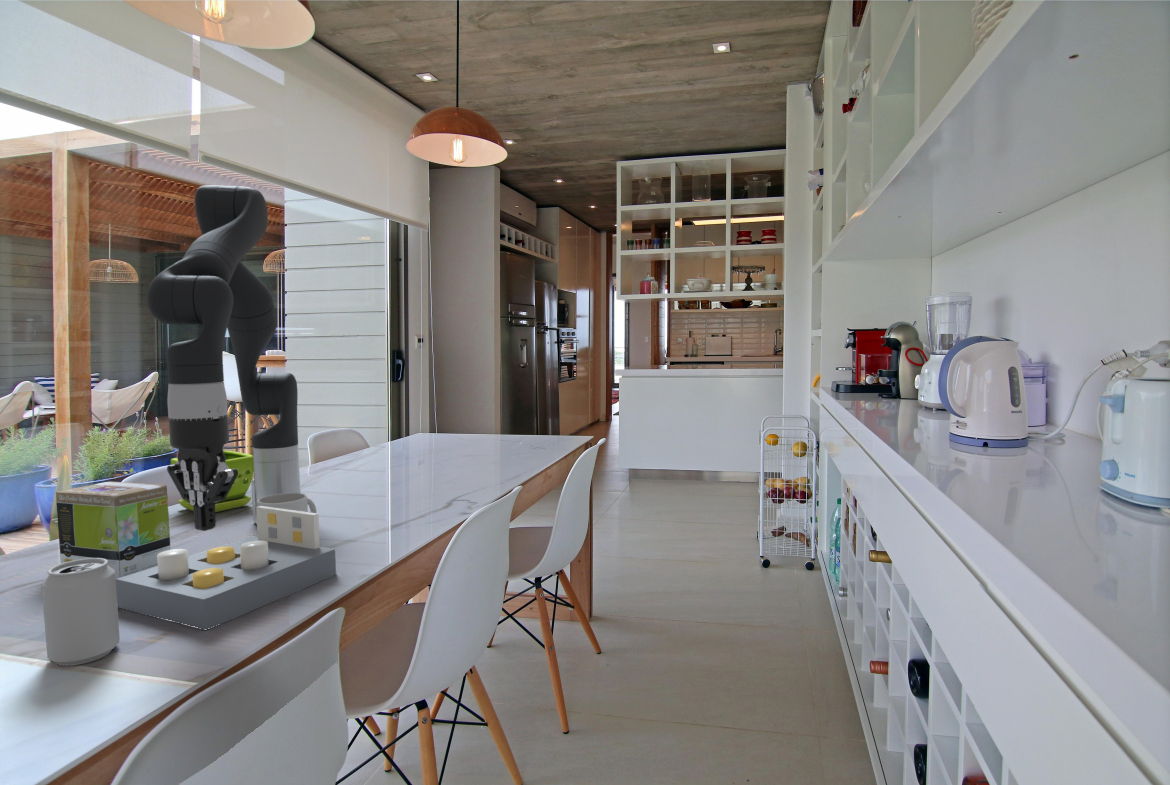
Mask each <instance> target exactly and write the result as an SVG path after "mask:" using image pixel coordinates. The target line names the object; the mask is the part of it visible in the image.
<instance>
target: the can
mask: <svg viewBox="0 0 1170 785" xmlns="http://www.w3.org/2000/svg"><path fill="white" fill-rule="evenodd" d="M107 564H108V560H106V559H103V558H87V559H79V560H74V561H69V562H65V563H62V564H61V563H58V564H56V565H53V566H52V567H51V568H49V569H48V570H47V571H46V574H48V575H47V577H46V578H45V579H44V580H43V581H42V583H41V595H42V607H43V608H42V609H43V620H44V634H45V644H46V657H47V659H48V660H49V661H51V662H53V663H56V664H57V665H60V666H64V665H65V667H66V666H68V667H69V666H78V665H83V664H87V663H90V662H94V661H97V660H99V659H102V658H104V657H106V656H107V655H109V654H110V653H111V652H112V651H113V650H114V648H115V647H116V646H117V645H119V643H120V624H119V612H118V610H119V608H118V604H117V590H116V579H115V570H114V569H112V568H111V567H109V566H108V565H107ZM112 649H113V650H112ZM111 650H112V651H111ZM101 657H102V658H101Z"/></svg>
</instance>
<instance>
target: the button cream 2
mask: <svg viewBox="0 0 1170 785" xmlns="http://www.w3.org/2000/svg"><path fill="white" fill-rule="evenodd" d="M240 558H241V569H242V570H247V571H255V570H258V569H261V568H263V567H266V566H269V558H268V542H267V541H261V540H260V541H250V542H246V543H243V544H241V545H240Z"/></svg>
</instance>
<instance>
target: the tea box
mask: <svg viewBox="0 0 1170 785" xmlns="http://www.w3.org/2000/svg"><path fill="white" fill-rule="evenodd" d="M55 498H56V500H55V502H56V513H57V514H56V515H57V527H58V528H57V529H58V530H57V531H58V543H59V558H60V564H62V563H65V562H69V561H74V560H79V559H87V558H103V559H106V560H108V564H107V565H108V566H109V567H111V568H112V569H114V570H115V580H116V579H117V578H120V577H124V576H127V575H130V574H133V573H136V572H140V571H143V570H146V569H149V568H152V567H155V566H158V562H157V554H159V553H161V552H163V551H167V550H172V549H171V537H170V536H171V533H170V522H169V521H170V520H169V517H170V515H169V500H168V498H169V497H168V486H167V485H166V484H155V483H154V484H153V483H140V482H127V481H125V482H124V481H123V482H121V481H105V482H99V483H94V484H89V485H84V486H79V487H74V488H70V489H69V488H68V489H63V490H59V491H56V492H55Z"/></svg>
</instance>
